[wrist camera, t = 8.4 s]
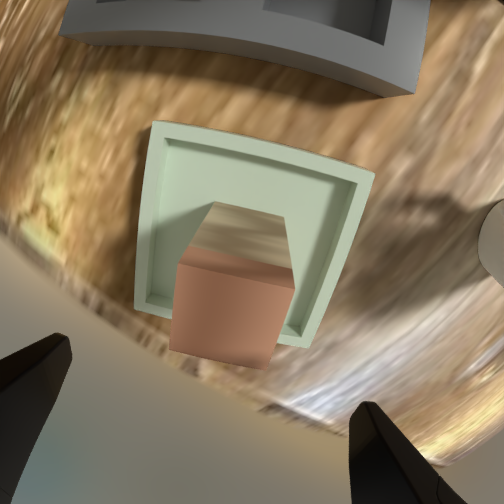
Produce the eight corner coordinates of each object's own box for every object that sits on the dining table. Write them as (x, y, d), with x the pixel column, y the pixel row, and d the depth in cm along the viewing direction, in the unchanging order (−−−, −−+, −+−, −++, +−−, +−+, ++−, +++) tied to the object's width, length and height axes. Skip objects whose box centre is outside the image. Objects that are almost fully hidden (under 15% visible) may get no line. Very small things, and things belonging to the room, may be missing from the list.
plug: (283, 216, 18) (295, 289, 10) (267, 277, 19) (266, 370, 12) (215, 201, 17) (177, 263, 10) (203, 263, 19) (168, 349, 12)
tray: (365, 168, 17) (375, 173, 15) (306, 332, 22) (308, 348, 20) (163, 120, 16) (153, 120, 14) (142, 295, 21) (133, 309, 19)
